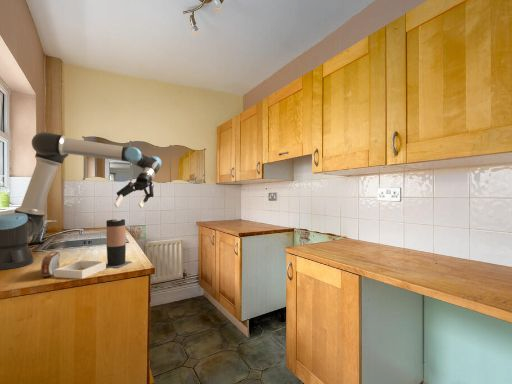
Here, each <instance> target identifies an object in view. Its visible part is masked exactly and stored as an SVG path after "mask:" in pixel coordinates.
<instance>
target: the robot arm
mask: <svg viewBox="0 0 512 384" xmlns="http://www.w3.org/2000/svg"><path fill="white" fill-rule="evenodd" d="M31 146H32V149H33V150H34V151H35V155H34V158H35V160H36V165H35V166H34V170H33V172H32V174H31V178H30V180H29V183H28V186H27V189H26V191H25V193H24V196H23V199H22V203H21V204H20V206H18V207H16V208H15V209H14V212H13V213H4V214H0V271H1V270H3V271H4V270H10V269H11V270H12V269H17V268H21V267H26V266H28V265H31V264H33V263H34V256H33V254H32V252H31V250H30V248H29V237H33V236H35V235H37V234H39V233H41V232H40V231H42V229H43V228H44V226H45V220H44V217H45V214H46V213H45V212H44V210H43V209H44V206H45V203H46V200H47V198H48V195H49V192H50V189H51V186H52V185H53V180H54V178H55V176H56V172H57V170H58V167H60V166H62V165H63V163H64V161H65V159H66V158H67V157H69V155H75V156H81V157H90V158H98V159H104V160H105V159H106V160H113V161H122V162H128V163H130V164H132V165H134V166H136V167H139V168H141V171H140V172H139V174H138V175H137V176H136V178H135V181H134V182H132V181H129V182H128V183H127V184H126V185H125V186H124V187H122V188H121V189H120V190H118V191H117V192H116V193H115V194H116V195H117V197H116V199H115V202H114V203H113V205H114V206H115V207H116V208H119V206H120V205H121V203H122V202H123V200H124V198H125V197H126V196H128V195H129V194H131V193H132V192H136V191H144V194H143V196H142V197H141V199H140V201H138V202H139V203H138V206H139V207H140V209H142V208H143V207H144V205H145V203H147V202H148V200H149V199H150V198H154V186H155V185H154V183H153V182H152V181H153V180H154V178H155V177H156V175H157V173H158V172H159V170H160V168H161V167H162V159H161V157H158V156H155V155H152V156H150V157H149V156H147V155H145V154H143V153H142V152H141V150H140V149H139V148H137V147H134V146H122V145H117V144H116V145H115V144H109V143H102V142H96V141H90V140H89V141H88V140H82V139H75V138H70V137H69V138H68V137H67V136H66V135H64V134H63V135H62V134H58V133H53V132H50V131H49V132H48V131H40V132H38V133H36V134H35V135H34V136H33V138H32V139H31ZM147 188H148V189H149V190H147ZM148 191H149V192H148Z"/></svg>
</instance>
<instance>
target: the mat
mask: <svg viewBox="0 0 512 384" xmlns="http://www.w3.org/2000/svg"><path fill="white" fill-rule="evenodd" d="M129 264H132V261H130V260H125V264H122V265H119V266H108V263H106V269H107V268H109V269H111V268H112V269H121V268H123V267H124V266H127V265H129Z"/></svg>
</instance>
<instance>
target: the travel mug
mask: <svg viewBox="0 0 512 384" xmlns="http://www.w3.org/2000/svg"><path fill="white" fill-rule="evenodd" d="M105 227H106V257H107V261H106V264H108V266H119V265H122V264H125V261H126V248H127V247H126V246H127V245H126V244H127V243H126V242H127V241H126V219H124V218H123V219H121V220H118V219H108V220H106V225H105Z"/></svg>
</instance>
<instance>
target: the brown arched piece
mask: <svg viewBox="0 0 512 384" xmlns="http://www.w3.org/2000/svg"><path fill="white" fill-rule="evenodd" d="M60 258H61V253H60V252H59V251H50V252H49V253H48V254H46V255H44V257H43V259H42V262H41V266H40V275H41V277H42V278H45V277H46V278H49V277H51V276H54V269H57V268H60Z"/></svg>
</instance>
